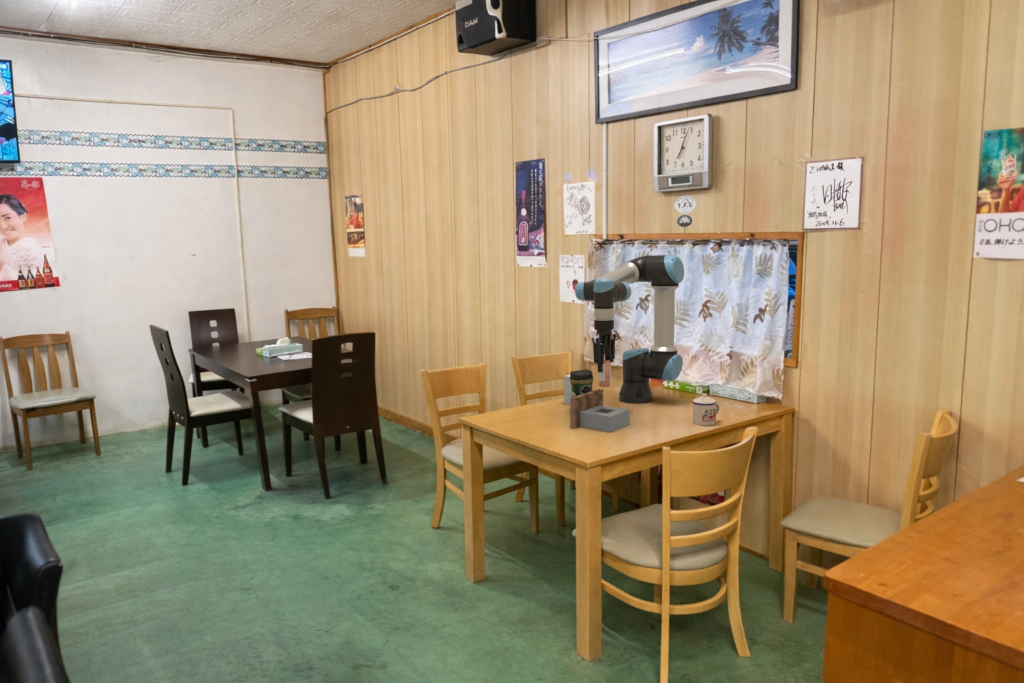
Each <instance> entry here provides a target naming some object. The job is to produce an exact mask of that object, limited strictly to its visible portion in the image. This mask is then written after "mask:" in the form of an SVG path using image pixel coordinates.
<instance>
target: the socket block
mask: <svg viewBox="0 0 1024 683" xmlns="http://www.w3.org/2000/svg"><path fill="white" fill-rule="evenodd" d="M630 422H631V410H630V409H629V408H628V409H627V408H621V407H620V408H619V407H616V406H608V405H603V406H602V405H599V406H596V407H593V408H590V409H587V410H584V411H581V412H580V427H579V428H584V429H587V430H588V429H589V430H594V431H600V432H606V433H613V432H615V431H618V430H620V429H622V428H625V427H627V426H630V425H631V423H630Z"/></svg>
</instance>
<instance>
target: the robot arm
mask: <svg viewBox="0 0 1024 683" xmlns="http://www.w3.org/2000/svg"><path fill="white" fill-rule="evenodd" d="M684 277H685V266H684V263H683V261H682V259H681V258H680V257H679V256H677V255H673V254H664V255H663V254H660V255H659V254H657V255H656V254H655V255H648V254H647V255H641V256H639V257H635V258H632V259H631V260H628V261H626V262H624V263H623V264H621V265H620V267H618V268H617V269H616V268H615V269H614V270H612V271H609V272H608V273H605V274H603V275H601V276H599V277H597V278H594V279H592V280H591V281H580V282H578V283H576V285H575V289H574V294H575V297H576V299H577V300H578V301H584V302H593V305H594V306H593V308H594V309H593V310H594V312H593V313H594V314H593V317H594V321H593V328H594V330H595V331H596V335H595V337H592V338H591V342H592V352H593V363H594V364H595V365H596V364H597V381H599V380H600V381H605V364H603V363H604V360H610V380H611V379H612V363H614V362H615V361H614V360H616V359H615V355H616V339H617V335H616V334H615V333H613V332H612V330H614V329H615V320H614V318H615V308H614V307H615V305H614V303H618V302H619V303H620V302H624V301H627V300H628V299H630V298H631V295H632V288H631V286H630V285H631V284H635V283H642V282H643V283H650V286H651V288H652V289H653V291H654V299H653V300H654V301H653V302H654V306H653V308H654V309H653V310H654V312H653V313H654V314H653V315H654V316H653V322H654V323H653V346H652V347H651V348H647V347H643V348H641V347H640V348H633V349H632V348H631V349H627V350H625V351H623V353H622V360H621V361H622V385H621V388H620V391H619V393H618V394H619V395H618V400H619V401H621V402H623V403H629V404H644V403H651V402H652V401H653V400H654V394H653V391H652V388H651V385H650V380H661V381H664V382H665V381H669V382H670V381H671V382H672V381H675V380H676V379H678V378H679V376H680V374H681V372H682V370H683V365H684V364H683V363H684V361H683V357H682V356H681V354H679V353H678V349H677V347H676V346H675V311H676V310H675V306H676V305H675V304H676V303H675V302H676V301H675V300H676V290H677V289H678V288H679V284H680V283H682V282H683V280H684Z"/></svg>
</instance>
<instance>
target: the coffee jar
mask: <svg viewBox="0 0 1024 683" xmlns="http://www.w3.org/2000/svg"><path fill="white" fill-rule="evenodd" d="M569 375H570V382H571V386H572V395H571V398H572V397H575V396H578V395H581V394H585V393H588V392H591V391H593V383H594V376H593V372H592V370H589V369H578V370H572V371H571V370H570V374H569Z"/></svg>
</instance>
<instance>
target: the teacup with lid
mask: <svg viewBox="0 0 1024 683" xmlns="http://www.w3.org/2000/svg"><path fill="white" fill-rule="evenodd" d="M719 412H720V405H719V403H717V399H714V398H712V397H710V396H708V394H707V393H702V394H701V396H699V397H696V398H693V400H692V423H693V424H694V425H698V426H703V427H707V426H709V427H710V426H713V425H716V422H717V415H718V414H719Z"/></svg>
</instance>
